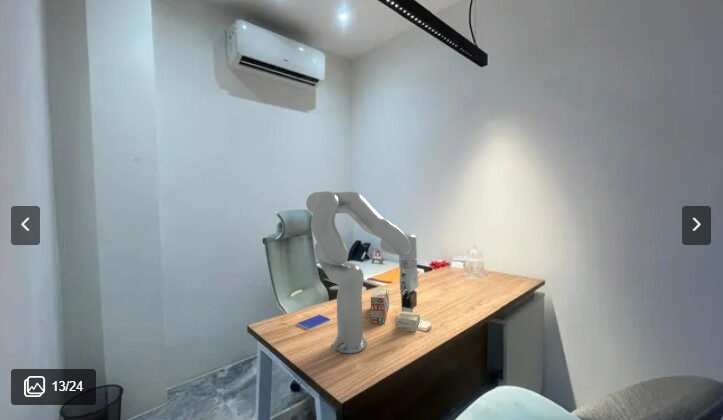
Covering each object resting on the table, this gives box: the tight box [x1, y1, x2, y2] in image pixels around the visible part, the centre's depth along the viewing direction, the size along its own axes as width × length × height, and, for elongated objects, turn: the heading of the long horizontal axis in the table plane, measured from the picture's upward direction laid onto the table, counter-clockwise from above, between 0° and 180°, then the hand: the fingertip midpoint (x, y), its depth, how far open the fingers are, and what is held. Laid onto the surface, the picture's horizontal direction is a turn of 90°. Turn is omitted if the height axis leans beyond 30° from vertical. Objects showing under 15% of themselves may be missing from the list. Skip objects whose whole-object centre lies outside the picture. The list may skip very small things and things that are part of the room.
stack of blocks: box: [370, 288, 390, 325], centre depth 143 cm, size 21×6×12 cm, turn 170°
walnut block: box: [400, 289, 418, 310], centre depth 128 cm, size 5×5×6 cm
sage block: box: [401, 306, 414, 313], centre depth 140 cm, size 5×5×6 cm
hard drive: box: [297, 314, 331, 331], centre depth 135 cm, size 2×8×12 cm
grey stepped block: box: [397, 310, 421, 333], centre depth 129 cm, size 8×8×5 cm
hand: (409, 304), depth 129 cm, fingers closed on walnut block, 5 cm apart
